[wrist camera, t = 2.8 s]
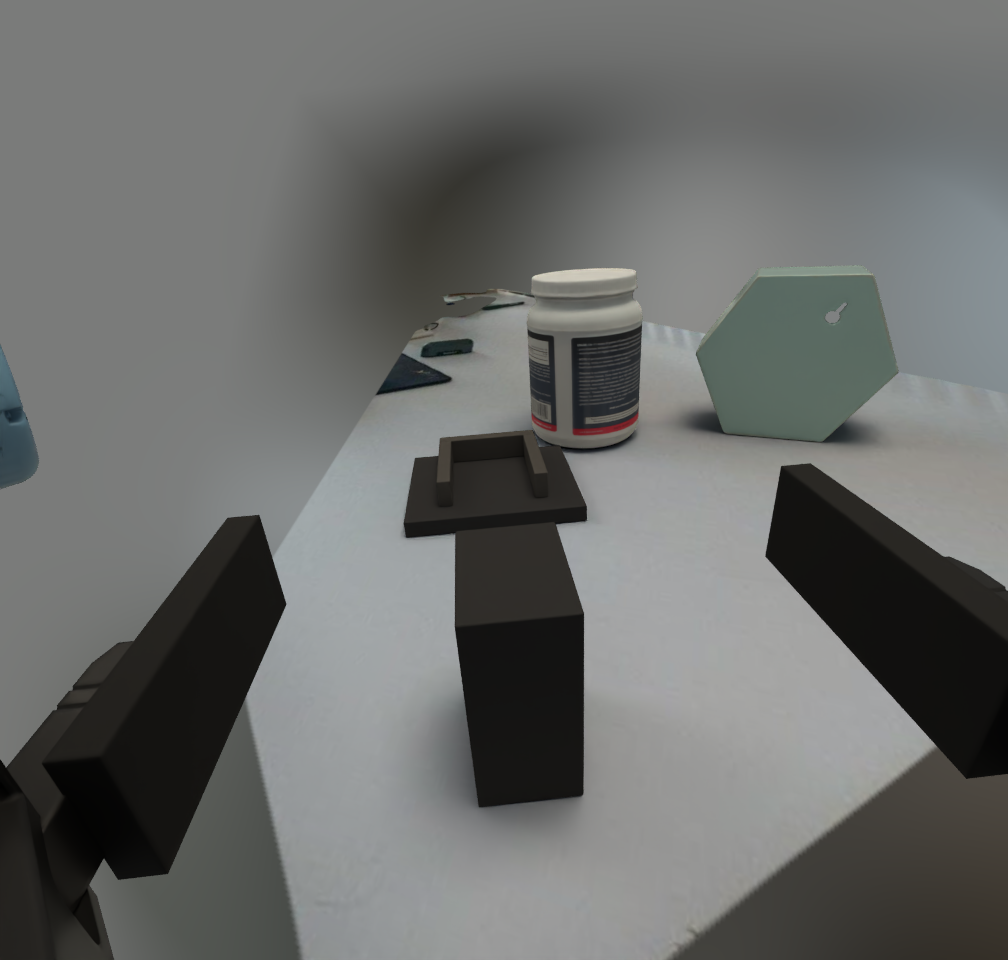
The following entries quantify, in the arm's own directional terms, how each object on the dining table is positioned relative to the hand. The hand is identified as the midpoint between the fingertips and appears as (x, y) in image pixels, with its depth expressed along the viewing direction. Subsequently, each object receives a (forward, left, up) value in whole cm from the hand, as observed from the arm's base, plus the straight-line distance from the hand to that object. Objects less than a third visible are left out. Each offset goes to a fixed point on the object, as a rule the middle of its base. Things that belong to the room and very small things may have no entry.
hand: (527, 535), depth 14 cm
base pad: (-19, +31, -18) cm, 40 cm away
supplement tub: (-16, +49, -18) cm, 54 cm away
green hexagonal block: (+5, +58, -18) cm, 61 cm away
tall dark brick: (-4, +7, -18) cm, 19 cm away
